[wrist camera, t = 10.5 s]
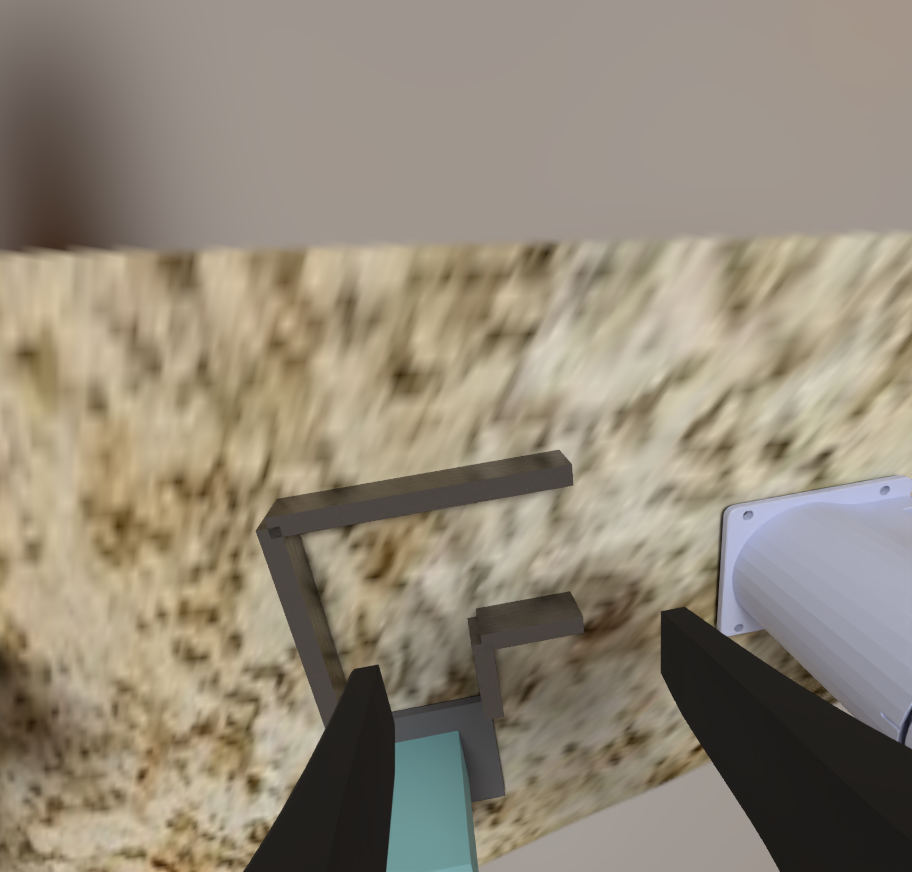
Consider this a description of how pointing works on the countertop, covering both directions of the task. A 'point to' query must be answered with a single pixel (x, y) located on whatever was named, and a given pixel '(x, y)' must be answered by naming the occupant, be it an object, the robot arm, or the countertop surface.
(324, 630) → the outer rail
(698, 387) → the countertop surface
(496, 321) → the countertop surface
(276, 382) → the countertop surface
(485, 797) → the rubber pad
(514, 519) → the countertop surface
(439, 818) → the teal block
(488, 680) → the rail
